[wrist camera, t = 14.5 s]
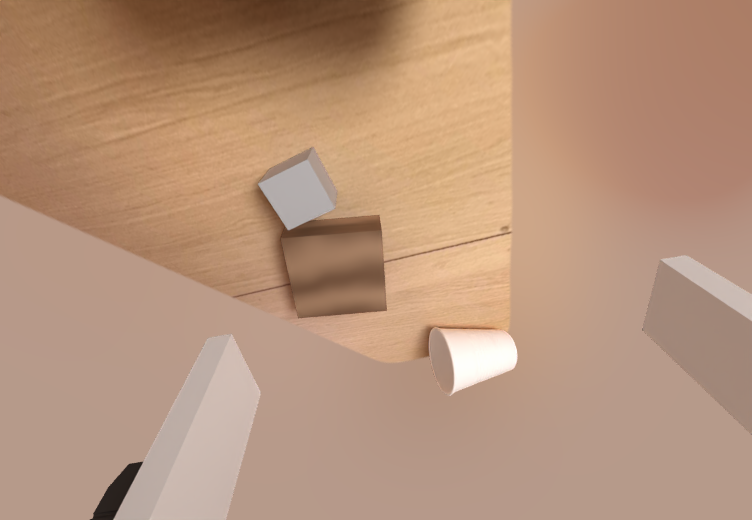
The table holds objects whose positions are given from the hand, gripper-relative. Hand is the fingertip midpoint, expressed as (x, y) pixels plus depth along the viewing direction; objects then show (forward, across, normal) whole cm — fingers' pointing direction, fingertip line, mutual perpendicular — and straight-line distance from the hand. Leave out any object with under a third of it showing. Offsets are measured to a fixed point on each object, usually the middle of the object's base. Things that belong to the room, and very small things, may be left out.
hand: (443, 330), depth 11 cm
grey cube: (+35, -10, -4) cm, 36 cm away
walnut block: (+35, -8, -16) cm, 39 cm away
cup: (+32, +14, -35) cm, 49 cm away
